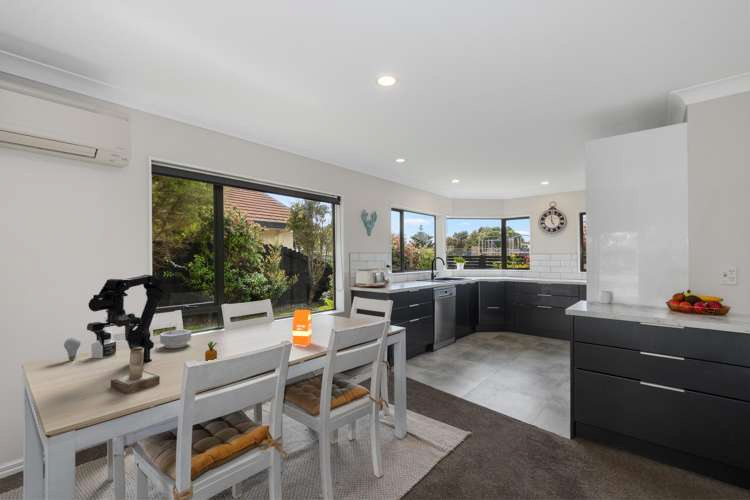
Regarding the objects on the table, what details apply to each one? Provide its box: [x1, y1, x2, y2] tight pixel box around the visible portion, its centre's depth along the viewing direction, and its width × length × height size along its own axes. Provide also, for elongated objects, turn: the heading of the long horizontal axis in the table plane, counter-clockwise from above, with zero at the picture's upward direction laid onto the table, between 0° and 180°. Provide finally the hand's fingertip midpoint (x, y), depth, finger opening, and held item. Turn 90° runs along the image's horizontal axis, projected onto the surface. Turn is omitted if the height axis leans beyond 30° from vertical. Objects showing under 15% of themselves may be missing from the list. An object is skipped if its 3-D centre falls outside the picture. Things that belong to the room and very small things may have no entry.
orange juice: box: [292, 309, 312, 346], centre depth 201 cm, size 8×9×20 cm
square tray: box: [110, 370, 161, 395], centre depth 138 cm, size 12×12×3 cm
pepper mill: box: [128, 347, 144, 379], centre depth 138 cm, size 4×4×12 cm
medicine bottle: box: [91, 331, 117, 359], centre depth 175 cm, size 7×7×12 cm
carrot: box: [204, 341, 218, 361], centre depth 150 cm, size 5×5×15 cm
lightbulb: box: [63, 337, 82, 361], centre depth 168 cm, size 6×6×11 cm
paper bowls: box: [159, 329, 192, 349], centre depth 194 cm, size 15×15×8 cm
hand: (115, 343), depth 152 cm, fingers open, 9 cm apart
